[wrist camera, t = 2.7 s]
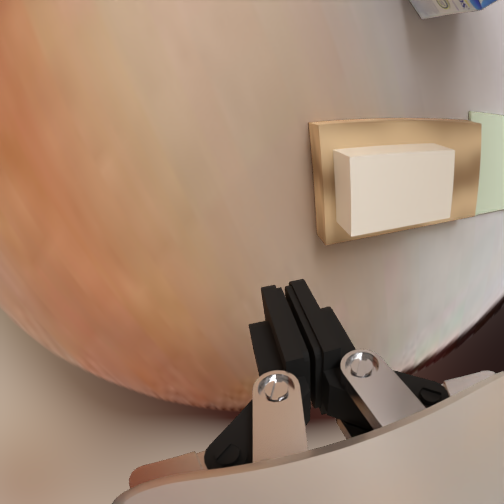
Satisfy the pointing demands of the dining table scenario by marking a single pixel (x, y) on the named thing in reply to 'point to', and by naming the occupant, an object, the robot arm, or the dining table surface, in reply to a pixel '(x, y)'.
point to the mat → (490, 162)
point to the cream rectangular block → (392, 186)
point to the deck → (392, 133)
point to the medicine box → (447, 7)
